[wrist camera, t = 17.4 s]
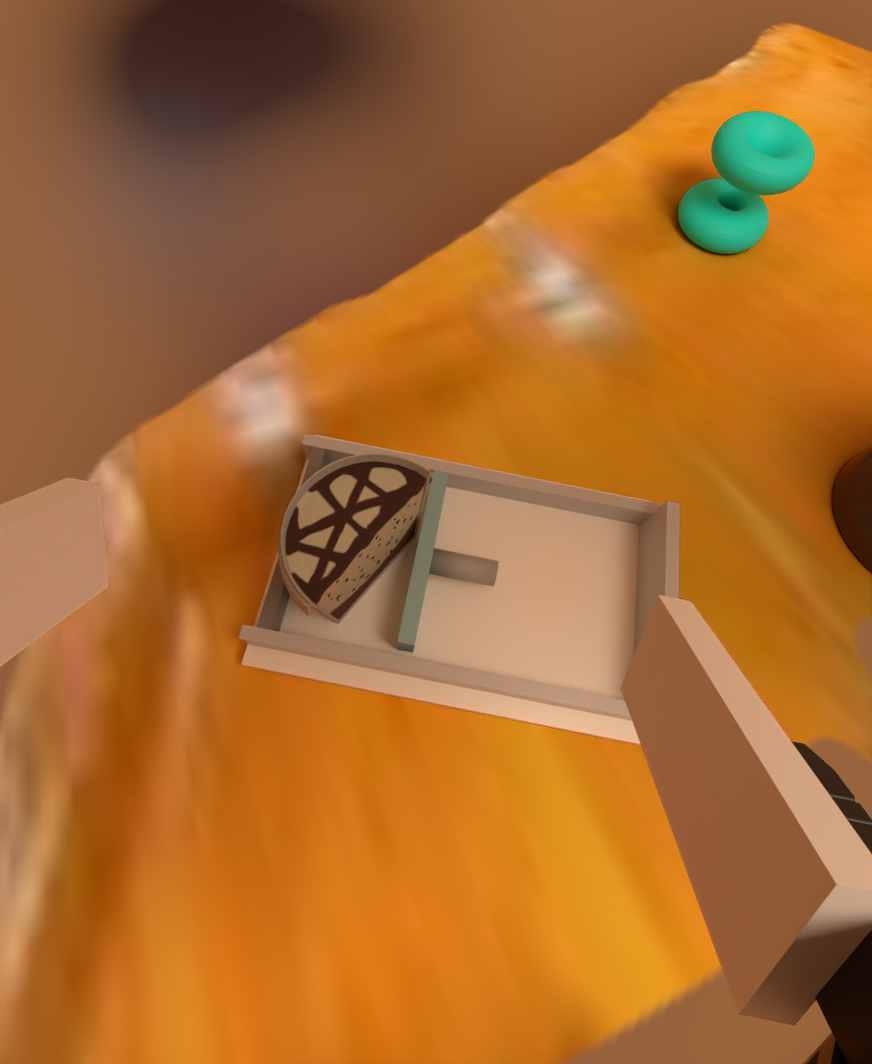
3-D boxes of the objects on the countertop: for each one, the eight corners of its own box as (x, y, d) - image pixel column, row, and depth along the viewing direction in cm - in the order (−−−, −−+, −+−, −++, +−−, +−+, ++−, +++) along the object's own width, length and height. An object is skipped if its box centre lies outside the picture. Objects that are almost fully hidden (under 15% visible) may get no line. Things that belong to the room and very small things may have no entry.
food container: (371, 480, 45) (364, 412, 35) (427, 523, 44) (436, 465, 34) (266, 588, 41) (227, 544, 31) (324, 639, 40) (302, 609, 30)
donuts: (712, 149, 51) (733, 92, 54) (663, 240, 60) (684, 187, 63) (813, 184, 50) (828, 125, 53) (748, 271, 59) (764, 216, 63)
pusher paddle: (503, 503, 44) (511, 484, 41) (478, 665, 39) (486, 659, 36) (431, 489, 44) (433, 469, 41) (397, 649, 39) (397, 641, 36)
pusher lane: (644, 508, 47) (680, 474, 41) (634, 744, 40) (676, 745, 34) (316, 443, 47) (304, 400, 41) (246, 666, 40) (219, 654, 34)
